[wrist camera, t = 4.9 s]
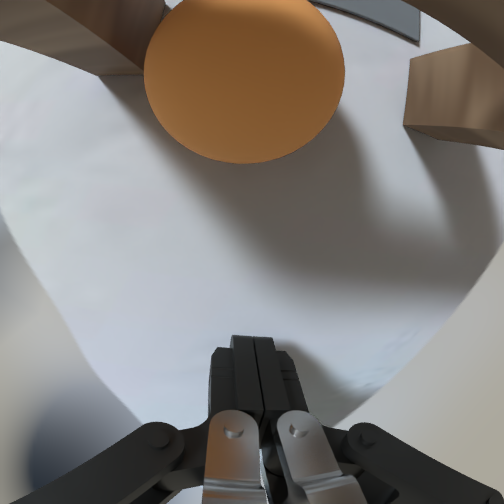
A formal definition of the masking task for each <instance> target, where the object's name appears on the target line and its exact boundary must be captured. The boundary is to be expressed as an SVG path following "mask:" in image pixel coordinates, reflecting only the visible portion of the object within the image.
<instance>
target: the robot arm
mask: <svg viewBox="0 0 504 504" xmlns="http://www.w3.org/2000/svg"><path fill="white" fill-rule="evenodd" d="M298 379H299V378H298V375H297V373H296V369H295V365H294V362H293V360H292V359H291V357H290V356H289V355H288V354H287V353H286V352H285V351H276V349H275V345H274V341H273V338H271V337H255V336H253V337H252V336H240V335H232V337H231V342H230V348H222V347H217V349H216V350H215V352H214V353H213V354H212V356H211V365H210V375H209V388H208V418H207V420H206V421H205V422H204V423H202V424H201V425H199V426H197V427H194V428H189V429H183V430H178V429H176V428H175V427H174V426H172V425H170V424H167V423H163V422H150V423H147V424H144V425H142V426H141V427H139V428H138V429H136V430H135V431H133V432H132V433H130V434H129V435H127V436H126V437H124V438H123V439H121V440H120V441H118V442H117V443H115V444H114V445H112V446H111V447H109V448H107V449H106V450H104V451H103V452H101V453H100V454H98V455H96V456H95V457H93V458H92V459H90V460H88V461H87V462H85V463H83V464H82V465H80V466H78V467H77V468H75V469H73V470H72V471H70V472H68V473H66V474H65V475H63V476H61V477H59V478H58V479H56V480H54V481H52V482H51V483H49V484H47V485H45V486H43V487H41V488H39V489H38V490H36V491H34V492H32V493H30V494H28V495H26V496H24V497H22V498H20V499H18V500H16V501H14V502H12V503H10V504H166V503H167V502H169V501H170V500H171V499H172V498H173V497H174V496H176V495H177V494H178V493H179V492H180V491H181V490H182V489H186V488H191V487H196V486H201V485H203V494H202V504H267V500H266V494H267V498H268V502H269V504H504V499H503V497H502V495H501V494H500V492H499V491H497V490H495V489H493V488H491V487H489V486H486V485H484V484H482V483H480V482H478V481H476V480H473V479H472V478H470V477H467V476H466V475H464V474H461V473H460V472H458V471H456V470H454V469H451V468H450V467H448V466H446V465H444V464H442V463H440V462H438V461H437V460H435V459H433V458H431V457H429V456H427V455H426V454H424V453H422V452H420V451H418V450H417V449H415V448H413V447H411V446H410V445H408V444H406V443H404V442H403V441H401V440H399V439H398V438H396V437H394V436H393V435H391V434H389V433H387V432H386V431H384V430H383V429H381V428H379V427H378V426H376V425H374V424H371V423H365V422H364V423H358V424H355V425H354V426H352V427H351V428H350V429H349V431H346V430H340V429H334V428H329V427H326V426H323V425H321V424H320V422H319V420H318V419H317V418H316V417H315V416H313V415H312V414H310V413H309V411H308V408H307V405H306V402H305V398H304V395H303V392H302V388H301V385H300V382H299V381H298ZM259 449H262V456H263V458H262V460H261V463H260V456H259ZM260 469H261V473H262V477H263V482H264V486H265V489H264V488H263V487H262V486H261V480H260ZM265 490H266V492H265Z"/></svg>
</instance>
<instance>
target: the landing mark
mask: <svg viewBox="0 0 504 504" xmlns="http://www.w3.org/2000/svg"><path fill="white" fill-rule="evenodd" d="M309 1H313V2H317V3H320V4H323V5H327V6H330V7H333V8H336V9H339V10H342V11H345V12H348V13H351V14H354V15H357V16H359V17H362V18H365V19H367V20H370V21H372V22H375V23H377V24H379V25H382V26H384V27H386V28H389V29H391V30H393V31H395V32H397V33H399V34H402V35H404V36H406V37H408V38H410V39H412V40H414V41H416V42H417V41H419V10H418V9H417V8H415V7H413V6H411V5H409V4H407V3H405V2H403V1H401V0H309Z"/></svg>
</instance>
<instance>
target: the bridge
mask: <svg viewBox="0 0 504 504" xmlns="http://www.w3.org/2000/svg"><path fill="white" fill-rule="evenodd" d="M401 1H403V2H405V3H407V4H409V5H411V6H413V7H415V8H417V9H418V10H420V11H422V12H424V13H426V14H427V15H429V16H431V17H433V18H434V19H436V20H438V21H439V22H441V23H442V24H444V25H446V26H447V27H449V28H450V29H452V30H453V31H455V32H456V33H458V34H459V35H461V36H462V37H464V38H465V39H466V40H468V41H469V42H471V43H469V44H464V45H460V46H456V47H452V48H448V49H444V50H440V51H436V52H432V53H429V54H425V55H422V56H418V57H415V58H412V59H410V69H409V80H408V89H407V98H406V105H405V113H404V120H403V125H404V126H407V127H409V128H412V129H414V130H417V131H419V132H422V133H424V134H426V135H429V136H431V137H433V138H435V139H438V140H444V141H452V142H459V143H466V144H473V145H479V146H485V147H491V148H496V149H501V150H504V0H401ZM165 4H166V3H165V1H164V0H0V41H4V42H7V43H10V44H13V45H16V46H20V47H23V48H26V49H29V50H32V51H34V52H37V53H40V54H43V55H46V56H48V57H51V58H54V59H56V60H59V61H62V62H64V63H67V64H69V65H72V66H74V67H77V68H79V69H82V70H84V71H87V72H89V73H91V74H94V75H96V76H104V75H144V62H145V57H146V51H147V49H148V46H149V43H150V40H151V38H152V36H153V34H154V32H155V31H156V29H157V27H158V25H159V24H160V21H161V18H162V14H163V10H164V7H165Z"/></svg>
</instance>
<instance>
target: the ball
mask: <svg viewBox="0 0 504 504" xmlns="http://www.w3.org/2000/svg"><path fill="white" fill-rule="evenodd" d="M344 78H345V66H344V58H343V53H342V49H341V45H340V43H339V40H338V38H337V36H336V33H335V32H334V30H333V28H332V27H331V25H330V23H329V22H328V21H327V20H326V18H325V17H324V16H323V15H322V14H321V13H320V11H319V10H318V9H317V8H315V7H314V6H313V5H312V4H311V3H310V2H308V1H307V0H183V1H182V2H180V3H179V4H178V5H177V6H175V7H174V8H173V9H172V10H171V11H170V12H169V13H168V14H167V15H166V16H165V18H164V19H163V20H162V21H161V23H160V24H159V25H158V27H157V29H156V31H155V32H154V34H153V36H152V38H151V40H150V43H149V46H148V49H147V51H146V57H145V62H144V83H145V90H146V94H147V97H148V101H149V103H150V106H151V108H152V110H153V112H154V114H155V116H156V117H157V119H158V121H159V122H160V124H161V125H162V126H163V127H164V128H165V130H166V131H167V132H168V133H169V134H170V135H171V136H172V137H173V138H174V139H175V140H177V141H178V142H179V143H180V144H182V145H183V146H185V147H186V148H188V149H189V150H191V151H193V152H195V153H197V154H199V155H201V156H204V157H207V158H210V159H213V160H217V161H222V162H227V163H235V164H250V163H260V162H266V161H270V160H273V159H277V158H280V157H283V156H285V155H287V154H290V153H292V152H294V151H296V150H297V149H299V148H301V147H303V146H304V145H305V144H307V143H308V142H309V141H311V140H312V139H313V138H314V137H315V136H316V135H317V134H318V133H319V132H320V131H321V130H322V129H323V128H324V127H325V126H326V124H327V123H328V122H329V120H330V119H331V117H332V116H333V114H334V112H335V110H336V108H337V106H338V104H339V101H340V98H341V96H342V91H343V87H344Z"/></svg>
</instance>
